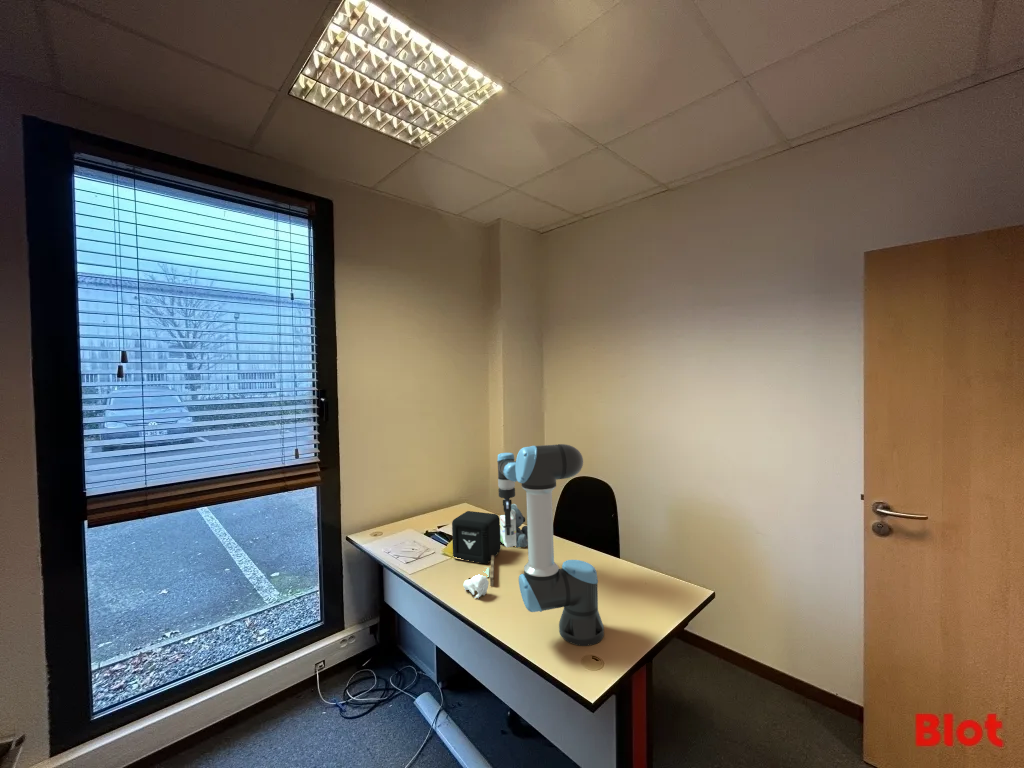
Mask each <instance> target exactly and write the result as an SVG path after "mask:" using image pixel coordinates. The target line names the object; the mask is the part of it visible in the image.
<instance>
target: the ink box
mask: <svg viewBox="0 0 1024 768" xmlns="http://www.w3.org/2000/svg"><path fill="white" fill-rule="evenodd" d="M511 512H512V513H513V514H512V513H511ZM511 512H510V516H511V542H505V528H504V527H503V526H505V514H501V515H500V516H499V518H500V533H501V542H502V543H503V544H504V545H503V546H505V547H506V548H512V547H513V546H516V518H515V512H514V511H513V510H511ZM507 525H509V524H507Z"/></svg>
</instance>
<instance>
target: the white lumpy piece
mask: <svg viewBox="0 0 1024 768" xmlns="http://www.w3.org/2000/svg"><path fill="white" fill-rule="evenodd" d="M489 584H490V581H489V579H488V578H486V577H485V576H483V575H480V574H478V575H475V576H473V577H472V578H471V579H466V580H464V582H463V588H464V589H463V590H464V591H466V590H469V591H468V592H470V593H471V595H473V597H474V598H478V599H480V598H481V596H485V595H486V594H487V591H488V589H489ZM475 592H477V594H476V595H475ZM474 595H475V596H474ZM479 597H480V598H479ZM474 598H473V599H474Z"/></svg>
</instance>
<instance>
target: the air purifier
mask: <svg viewBox="0 0 1024 768" xmlns="http://www.w3.org/2000/svg"><path fill="white" fill-rule="evenodd" d="M451 533H452V536H451V537H452V557H453V556H454V557H457V558H461V559H464V560H469V561H468V562H470V561H474V562H473V563H476V562H479V563H478V564H482V563H485V564H484V565H487V563H488V564H489V563H491V555H494V558H495V557H496V556H498V554H499V553H501V543H500V516H499V515H498V514H497V513H488V512H479V511H471V510H467V511H465V512H464V513H462V514H460V515H459V516H457V517H456V518H454V519H453V520H452V521H451ZM454 557H453V558H454ZM464 560H463V561H464Z"/></svg>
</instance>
